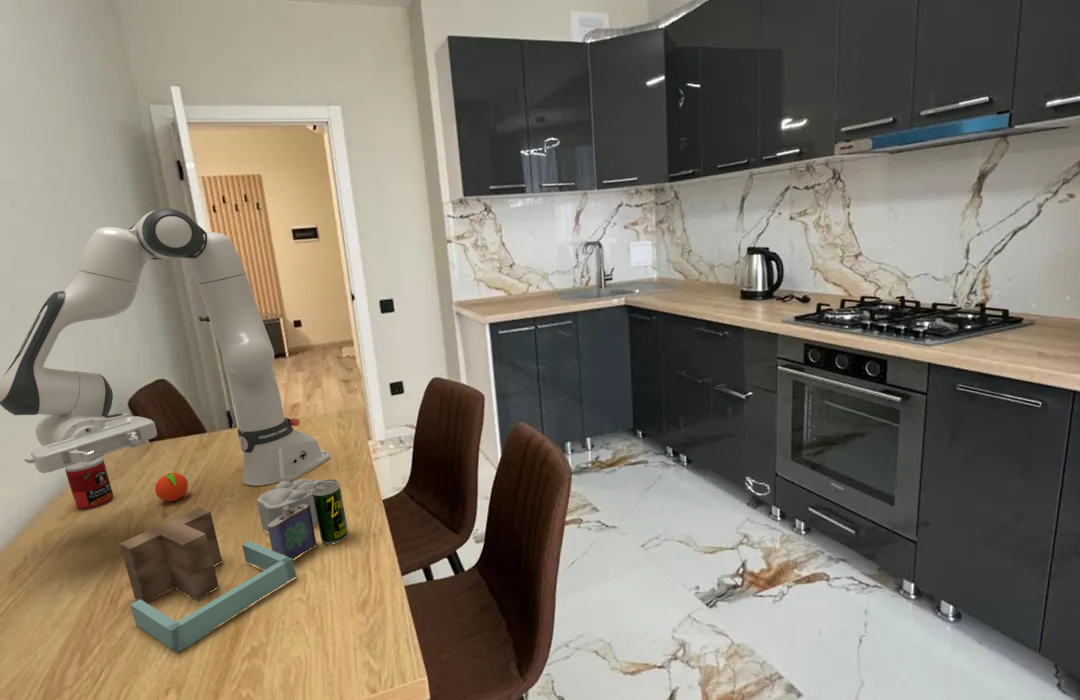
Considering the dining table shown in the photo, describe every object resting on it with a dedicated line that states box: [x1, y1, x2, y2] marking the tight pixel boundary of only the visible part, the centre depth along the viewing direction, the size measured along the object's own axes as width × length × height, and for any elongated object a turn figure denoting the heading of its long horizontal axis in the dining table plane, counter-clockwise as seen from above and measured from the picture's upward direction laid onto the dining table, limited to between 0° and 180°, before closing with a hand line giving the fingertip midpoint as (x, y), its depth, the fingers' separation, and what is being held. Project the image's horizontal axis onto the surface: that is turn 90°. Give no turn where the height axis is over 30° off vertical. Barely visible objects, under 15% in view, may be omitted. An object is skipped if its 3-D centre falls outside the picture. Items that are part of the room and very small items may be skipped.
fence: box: [129, 540, 297, 653], centre depth 102 cm, size 21×14×4 cm, turn 147°
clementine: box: [154, 472, 189, 503], centre depth 143 cm, size 8×7×7 cm
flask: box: [267, 504, 317, 559], centre depth 113 cm, size 9×3×11 cm, turn 151°
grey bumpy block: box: [256, 478, 321, 532], centre depth 127 cm, size 10×13×9 cm
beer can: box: [312, 478, 349, 545], centre depth 118 cm, size 5×5×12 cm
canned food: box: [64, 456, 114, 510], centre depth 146 cm, size 8×8×11 cm
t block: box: [119, 507, 223, 604], centre depth 106 cm, size 14×12×11 cm
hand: (113, 449), depth 112 cm, fingers open, 6 cm apart
